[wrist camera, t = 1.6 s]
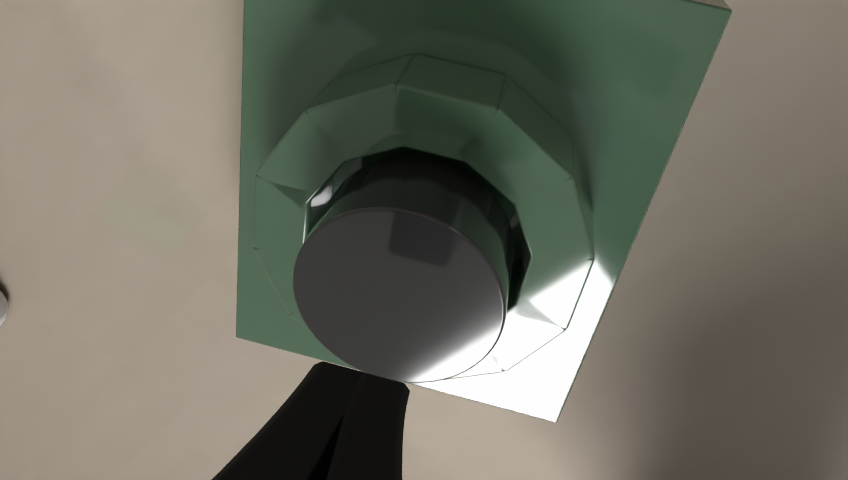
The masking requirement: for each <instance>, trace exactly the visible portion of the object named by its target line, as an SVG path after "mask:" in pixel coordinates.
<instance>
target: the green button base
mask: <svg viewBox="0 0 848 480" xmlns="http://www.w3.org/2000/svg"><path fill="white" fill-rule="evenodd" d="M731 13H732V10H731V9H730V7H729V6H728V5H727V3H726V2H725V1H724V0H244V27H243V68H242V110H241V151H240V193H239V234H238V276H237V317H236V337H237V338H241V339H245V340H249V341H252V342H256V343H260V344H264V345H267V346H271V347H275V348H278V349H282V350H286V351H290V352H293V353H297V354H301V355H305V356H308V357H312V358H316V359H320V360H323V361H327V362H331V363H335V364H338V365H342V366H346V367H350V368H353V369H356V368H354V367H352V366H350V365H348V364H346V363H345V362H343V361H342V360H340V359H339V358H337V357H336V356H334V355H333V354H332V353H331V352H330V351H328V350H327V349H326V348H325V347H324V346H323V345H322V344H321V343H320V342H319V341H318V340H317V339H316V338H315V337H314V335H313V334H312V333H311V331H310V330H309V329H308V327H307V326H306V324H305V322H304V321H303V319H302V317H301V315H300V312H299V310H298V308H297V304H296V301H295V298H294V291H293V270H294V264H295V261H296V258H297V255H298V252H299V250H300V248H301V247H302V245H303V243H304V241H305V240H306V238H307V237H308V235H309V233H310V232H311V230H312V228H313V227H314V225H315V224H316V222H317V220H318V219H319V217H320V216H321V214H322V212H323V211H324V209H325V208H326V206H327V204H328V203H329V201H330V199H331V198H332V196H333V195H334V193H335V192H336V190H337V189H338V188H339V186H340V185H341V184H342V183H343V182H344V181H345V180H346V179H347V178H348V177H349V176H350V175H352V174H353V173H355V172H356V171H358V170H359V169H361V168H363V167H365V166H367V165H369V164H372V163H375V162H378V161H381V160H385V159H391V158H397V157H419V158H426V159H432V160H436V161H439V162H443V163H446V164H449V165H451V166H453V167H456V168H458V169H460V170H462V171H463V172H465V173H467V174H469V175H470V176H472V177H473V178H475V179H476V180H477V181H478V182H480V183H481V184H482V185H483V186H484V187H485V188H486V189H487V190H488V191H489V192H490V193H491V194H492V195H493V196H494V197H495V199H496V200H497V201H498V202H499V204H500V205H501V207H502V209H503V210H504V212H505V214H506V216H507V218H508V220H509V223H510V225H511V229H512V233H513V237H514V247H515V249H514V262H513V269H512V277H511V284H510V291H509V299H508V306H507V314H506V320H505V324H504V328H503V331H502V333H501V336H500V338H499V340H498V342H497V343H496V345H495V346H494V348H493V349H492V350H491V352H490V353H489V354H488V355H487V356H486V357H485V358H484V359H483V360H482V361H481V362H479V363H478V364H477V365H476V366H474V367H472V368H471V369H469V370H468V371H466V372H464V373H461V374H459V375H457V376H454V377H451V378H448V379H445V380H440V381H435V382H425V383H410V384H413V385H417V386H421V387H424V388H428V389H432V390H436V391H439V392H443V393H447V394H451V395H454V396H458V397H462V398H466V399H469V400H473V401H477V402H481V403H484V404H488V405H492V406H496V407H499V408H503V409H507V410H511V411H514V412H518V413H522V414H526V415H529V416H533V417H537V418H541V419H544V420H548V421H552V422H557V421H558V418H559V416H560V414H561V411H562V409H563V407H564V404H565V402H566V400H567V397H568V395H569V393H570V390H571V388H572V386H573V383H574V381H575V379H576V376H577V374H578V372H579V369H580V367H581V364H582V362H583V360H584V357H585V355H586V353H587V350H588V348H589V346H590V343H591V341H592V339H593V336H594V334H595V332H596V329H597V327H598V325H599V322H600V320H601V318H602V315H603V313H604V311H605V308H606V306H607V304H608V301H609V299H610V297H611V294H612V292H613V290H614V287H615V285H616V283H617V280H618V278H619V276H620V273H621V271H622V268H623V266H624V264H625V261H626V259H627V257H628V254H629V252H630V250H631V247H632V245H633V243H634V240H635V238H636V236H637V233H638V231H639V229H640V226H641V224H642V222H643V219H644V217H645V215H646V212H647V210H648V208H649V205H650V203H651V201H652V198H653V196H654V194H655V191H656V189H657V187H658V184H659V182H660V180H661V177H662V175H663V172H664V170H665V168H666V165H667V163H668V161H669V158H670V156H671V154H672V151H673V149H674V147H675V144H676V142H677V140H678V137H679V135H680V133H681V130H682V128H683V126H684V123H685V121H686V119H687V116H688V114H689V112H690V109H691V107H692V105H693V102H694V100H695V98H696V95H697V93H698V91H699V88H700V86H701V84H702V81H703V79H704V76H705V74H706V72H707V69H708V67H709V65H710V62H711V60H712V58H713V55H714V53H715V51H716V48H717V46H718V44H719V41H720V39H721V37H722V34H723V32H724V30H725V27H726V25H727V23H728V20H729V18H730V16H731ZM357 370H358V369H357Z"/></svg>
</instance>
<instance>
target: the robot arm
mask: <svg viewBox="0 0 848 480" xmlns="http://www.w3.org/2000/svg"><path fill="white" fill-rule="evenodd" d="M409 392H410V390H409V389H408V388H407V386H406V385H405V384H404V383H402V382H398V381H395V380H391V379H387V378H383V377H380V376H376V375H372V374H368V373H365V372H361V371H357V370H353V369H350V368H346V367H342V366H338V365H335V364H331V363H327V362H323V361H322V362H320V363H317V364H315V365H314V366H313V367H312V369H311V370H310V371H309V373H308V374H307V375H306V377H305V378H304V379H303V381H302V382H301V383H300V384H299V386H298V387H297V388H296V389H295V391H294V392H293V393H292V394H291V396H290V397H289V398H288V399H287V400H286V401H285V403H284V404H283V405H282V406H281V407H280V408H279V410H278V411H277V412H276V413H275V414H274V415H273V416H272V417H271V419H270V420H269V421H268V422H267V423H266V424H265V425H264V426H263V427H262V429H261V430H260V431H259V432H258V433H257V434H256V435H255V436H254V437H253V438H252V439H251V440H250V441H249V442H248V443H247V444H246V445H245V446H244V447H243V448H242V449H241V450H240V452H239V453H238V454H237V455H236V456H235V457H234V458H233V459H232V460H231V461H230V462H229V463H228V464H227V465H226V466H225V467H224V468H223V469H222V470H221V471H220V472H219V473H218V474H217V475H216V476H215V477H214V478H213V479H212V480H402V444H403V429H404V419H405V412H406V405H407V401H408V397H409Z"/></svg>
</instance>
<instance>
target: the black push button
mask: <svg viewBox="0 0 848 480" xmlns="http://www.w3.org/2000/svg"><path fill="white" fill-rule="evenodd" d="M514 249H515V247H514V237H513V233H512V229H511V225H510V223H509V220H508V218H507V216H506V214H505V212H504V210H503V209H502V207H501V205H500V204H499V202H498V201H497V200H496V199H495V197H494V196H493V195H492V194H491V193H490V192H489V191H488V190H487V189H486V188H485V187H484V186H483V185H482V184H481V183H480V182H478V181H477V180H476V179H475V178H473V177H472V176H470V175H469V174H467V173H465V172H463V171H462V170H460V169H458V168H456V167H453V166H451V165H449V164H446V163H443V162H439V161H436V160H432V159H426V158H419V157H397V158H391V159H385V160H381V161H378V162H375V163H372V164H369V165H367V166H365V167H363V168H361V169H359V170H358V171H356V172H355V173H353V174H352V175H350V176H349V177H348V178H347V179H346V180H345V181H344V182H343V183H342V184H341V185H340V186H339V188H338V189H337V190H336V192H335V193H334V195H333V196H332V198H331V199H330V201H329V203H328V204H327V206H326V208H325V209H324V211H323V212H322V214H321V216H320V217H319V219H318V220H317V222H316V224H315V225H314V227H313V228H312V230H311V232H310V233H309V235H308V237H307V238H306V240H305V241H304V243H303V245H302V247H301V248H300V250H299V252H298V255H297V258H296V261H295V264H294V270H293V291H294V298H295V301H296V304H297V308H298V310H299V312H300V315H301V317H302V319H303V321H304V322H305V324H306V326H307V327H308V329H309V330H310V331H311V333H312V334H313V335H314V337H315V338H316V339H317V340H318V341H319V342H320V343H321V344H322V345H323V346H324V347H325V348H326V349H327V350H328V351H330V352H331V353H332V354H333V355H334V356H336V357H337V358H339V359H340V360H342V361H343V362H345V363H346V364H348V365H350V366H352V367H354V368H356V369H358V370H360V371H362V372H365V373H368V374H372V375H376V376H380V377H383V378H387V379H391V380H395V381H398V382H406V383H425V382H435V381H440V380H445V379H448V378H451V377H454V376H457V375H459V374H461V373H464V372H466V371H468V370H469V369H471V368H472V367H474V366H476V365H477V364H478V363H479V362H481V361H482V360H483V359H484V358H485V357H486V356H487V355H488V354H489V353H490V352H491V350H492V349H493V348H494V346H495V345H496V343H497V342H498V340H499V338H500V336H501V333H502V331H503V328H504V324H505V320H506V314H507V306H508V299H509V291H510V284H511V277H512V269H513V262H514Z"/></svg>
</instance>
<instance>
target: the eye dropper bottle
mask: <svg viewBox="0 0 848 480" xmlns="http://www.w3.org/2000/svg"><path fill="white" fill-rule="evenodd" d="M8 309H9V305H8V302H7V300H6V297H5V296H4V295H3V293H2V292H1V291H0V325H1V324H2V323H3V322H4V320H5V319H6V317H7V314H8Z"/></svg>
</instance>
